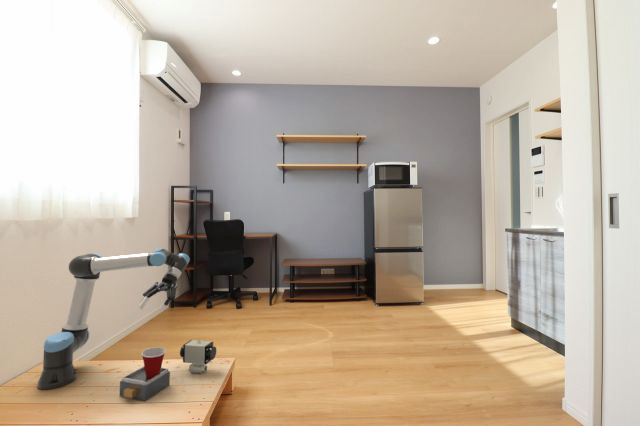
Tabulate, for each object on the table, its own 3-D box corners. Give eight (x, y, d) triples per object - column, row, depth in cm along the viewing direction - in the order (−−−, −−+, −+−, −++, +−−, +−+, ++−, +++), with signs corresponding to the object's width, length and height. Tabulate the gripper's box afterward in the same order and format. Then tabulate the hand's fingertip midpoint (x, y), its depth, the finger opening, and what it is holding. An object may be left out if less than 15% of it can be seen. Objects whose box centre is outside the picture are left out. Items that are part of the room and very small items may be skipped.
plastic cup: (151, 383, 144) (152, 356, 145) (135, 378, 148) (136, 353, 149) (170, 373, 154) (171, 348, 155) (154, 369, 158) (155, 345, 159)
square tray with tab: (114, 399, 143) (115, 380, 144) (145, 381, 160) (146, 364, 160) (140, 404, 139) (141, 385, 140) (169, 385, 156) (170, 368, 156)
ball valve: (217, 370, 173) (218, 337, 174) (209, 377, 165) (210, 343, 166) (188, 367, 176) (189, 335, 177) (178, 374, 168) (179, 341, 169)
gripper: (192, 281, 180) (173, 314, 165) (157, 279, 187) (135, 311, 172) (186, 273, 176) (165, 307, 161) (151, 271, 183) (127, 303, 167)
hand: (150, 309), depth 166 cm, fingers open, 13 cm apart
